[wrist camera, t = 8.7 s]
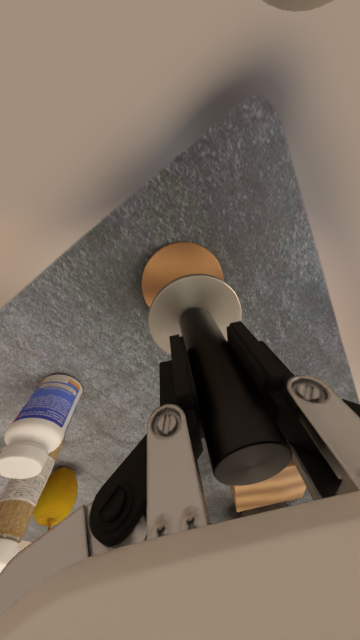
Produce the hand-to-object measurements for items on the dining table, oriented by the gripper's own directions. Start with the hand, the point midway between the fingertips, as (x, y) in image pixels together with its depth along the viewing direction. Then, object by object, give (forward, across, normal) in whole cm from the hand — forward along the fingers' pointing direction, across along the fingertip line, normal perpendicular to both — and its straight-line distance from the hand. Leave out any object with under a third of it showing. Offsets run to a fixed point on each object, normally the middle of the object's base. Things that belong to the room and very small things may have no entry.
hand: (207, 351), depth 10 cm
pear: (+13, +28, +31) cm, 43 cm away
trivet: (+12, 0, 0) cm, 12 cm away
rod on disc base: (+4, 0, 0) cm, 4 cm away
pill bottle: (+12, +19, +11) cm, 25 cm away
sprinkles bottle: (+13, +26, +21) cm, 36 cm away
